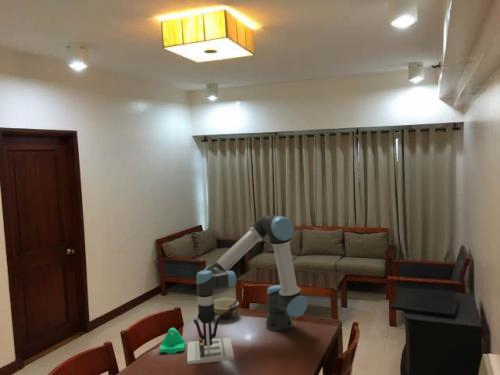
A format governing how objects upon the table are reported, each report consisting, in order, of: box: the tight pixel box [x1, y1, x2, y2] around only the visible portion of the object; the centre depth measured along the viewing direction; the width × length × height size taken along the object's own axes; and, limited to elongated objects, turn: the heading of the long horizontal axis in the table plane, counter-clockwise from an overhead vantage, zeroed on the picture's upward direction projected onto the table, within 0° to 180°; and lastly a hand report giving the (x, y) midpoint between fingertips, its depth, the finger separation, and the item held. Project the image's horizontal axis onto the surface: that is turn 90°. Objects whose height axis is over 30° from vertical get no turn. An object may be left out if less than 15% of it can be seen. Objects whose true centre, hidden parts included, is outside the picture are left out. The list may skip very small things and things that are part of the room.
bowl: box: [213, 297, 240, 320], centre depth 255 cm, size 18×18×10 cm
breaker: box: [200, 343, 205, 356], centre depth 202 cm, size 2×3×5 cm
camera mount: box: [159, 327, 186, 355], centre depth 214 cm, size 12×8×10 cm, turn 93°
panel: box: [186, 337, 235, 366], centre depth 209 cm, size 22×22×2 cm
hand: (208, 352), depth 202 cm, fingers closed
